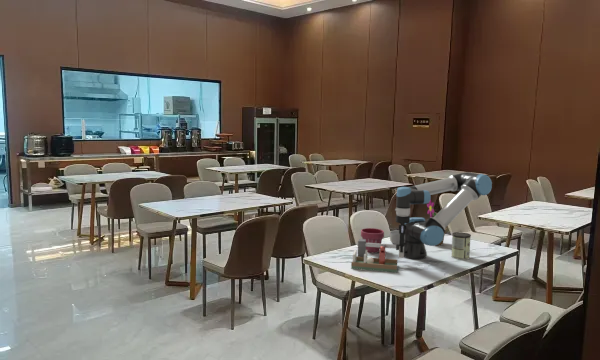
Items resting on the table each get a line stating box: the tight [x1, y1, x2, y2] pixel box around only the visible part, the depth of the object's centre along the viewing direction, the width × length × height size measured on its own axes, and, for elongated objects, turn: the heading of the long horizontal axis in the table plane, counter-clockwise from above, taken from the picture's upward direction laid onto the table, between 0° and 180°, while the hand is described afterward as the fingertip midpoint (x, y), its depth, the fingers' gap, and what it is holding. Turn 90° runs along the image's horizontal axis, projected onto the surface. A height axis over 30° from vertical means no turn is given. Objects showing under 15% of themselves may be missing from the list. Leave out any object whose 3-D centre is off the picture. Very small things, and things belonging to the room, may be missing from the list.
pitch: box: [350, 238, 398, 273], centre depth 246 cm, size 24×17×12 cm
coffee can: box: [450, 231, 472, 261], centre depth 264 cm, size 10×10×14 cm
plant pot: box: [360, 227, 385, 254], centre depth 277 cm, size 14×14×13 cm
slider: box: [357, 242, 407, 264], centre depth 247 cm, size 28×13×10 cm, turn 76°
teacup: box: [389, 229, 400, 245], centre depth 297 cm, size 14×11×8 cm
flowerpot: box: [426, 199, 448, 247], centre depth 295 cm, size 14×14×30 cm
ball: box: [366, 256, 374, 264], centre depth 245 cm, size 4×4×4 cm
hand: (401, 256), depth 249 cm, fingers closed on slider, 3 cm apart
